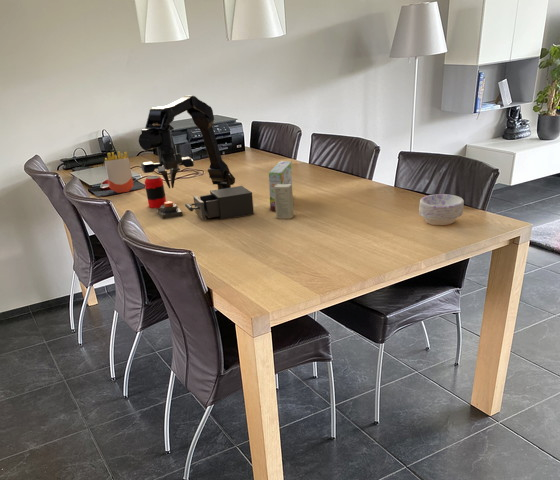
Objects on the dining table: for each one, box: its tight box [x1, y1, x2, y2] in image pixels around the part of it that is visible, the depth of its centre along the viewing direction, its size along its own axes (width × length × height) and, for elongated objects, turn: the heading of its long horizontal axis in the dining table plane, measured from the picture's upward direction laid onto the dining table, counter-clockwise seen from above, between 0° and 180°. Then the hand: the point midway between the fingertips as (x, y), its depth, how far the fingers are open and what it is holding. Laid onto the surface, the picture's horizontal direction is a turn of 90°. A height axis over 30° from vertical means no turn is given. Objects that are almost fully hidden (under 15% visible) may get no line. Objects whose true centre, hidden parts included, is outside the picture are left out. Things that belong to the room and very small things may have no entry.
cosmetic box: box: [274, 183, 295, 220], centre depth 219 cm, size 6×4×12 cm
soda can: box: [144, 175, 167, 209], centre depth 244 cm, size 8×8×12 cm
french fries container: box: [104, 151, 134, 194], centre depth 268 cm, size 5×11×18 cm, turn 114°
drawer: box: [184, 194, 220, 221], centre depth 226 cm, size 17×11×7 cm
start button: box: [164, 200, 174, 207], centre depth 233 cm, size 4×4×2 cm
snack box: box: [268, 160, 293, 212], centre depth 234 cm, size 21×6×15 cm, turn 168°
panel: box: [157, 203, 183, 220], centre depth 234 cm, size 10×8×4 cm
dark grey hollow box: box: [209, 185, 255, 221], centre depth 229 cm, size 14×13×9 cm
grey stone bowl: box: [418, 193, 465, 226], centre depth 204 cm, size 15×15×8 cm
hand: (171, 188), depth 219 cm, fingers closed
